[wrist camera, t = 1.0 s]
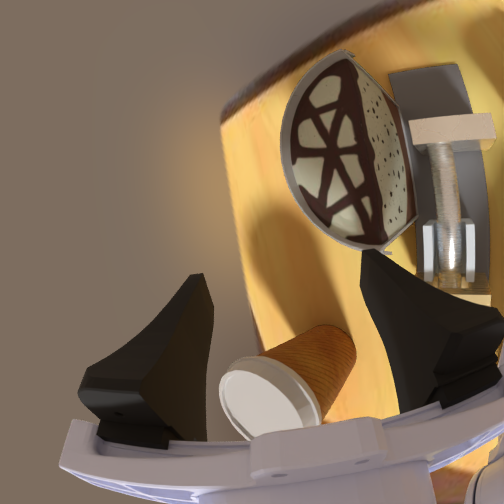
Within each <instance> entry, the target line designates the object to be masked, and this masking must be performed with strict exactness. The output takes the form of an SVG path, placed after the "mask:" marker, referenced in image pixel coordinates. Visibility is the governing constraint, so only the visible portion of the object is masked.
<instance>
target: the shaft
mask: <svg viewBox="0 0 504 504" xmlns="http://www.w3.org/2000/svg"><path fill="white" fill-rule="evenodd" d="M409 126H410V131H411V135H412V140H413V145H414V146H415V147H416V148H417V149H418V151H419V152H420V153H421V154H422V155H428V154H429V160H430V166H431V173H432V180H433V188H434V197H435V207H436V220H437V239H438V288H461V284H462V226H461V210H460V198H459V189H458V181H457V173H456V166H455V160H454V154H453V152H465V151H482V150H489V149H490V148H491V146H492V145H493V143H494V142H495V140H496V139H497V137H496V133H495V128H494V124H493V120H492V116H491V113H478V114H464V115H452V116H442V117H433V118H425V119H417V120H410V121H409Z"/></svg>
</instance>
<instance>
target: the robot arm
mask: <svg viewBox="0 0 504 504" xmlns="http://www.w3.org/2000/svg"><path fill="white" fill-rule="evenodd" d="M360 288H361V291H362V295H363V298H364V301H365V304H366V306H367V308H368V310H369V312H370V315H371V317H372V319H373V321H374V323H375V325H376V328H377V330H378V332H379V334H380V336H381V339H382V341H383V344H384V346H385V349H386V352H387V356H388V359H389V363H390V366H391V370H392V374H393V378H394V383H395V388H396V393H397V398H398V404H399V410H400V414H399V415H396V416H392V417H389V418H385V419H382V420H380V419H378V418H373V417H361V418H354V419H349V420H344V421H339V422H334V423H329V424H323V425H317V426H311V427H304V428H297V429H289V430H280V431H274V432H269V433H264V434H262V435H259V436H257V437H255V438H253V439H252V440H251V441H232V442H207V432H206V431H207V430H206V371H207V363H208V357H209V351H210V344H211V338H212V332H213V324H214V305H213V302H212V299H211V296H210V294H209V290H208V287H207V284H206V281H205V278H204V275H203V273H200V274H193V275H190V276H189V277H188V278H187V280H186V281H185V282H184V283H183V285H182V286H181V287H180V289H179V290H178V291H177V293H176V294H175V295H174V296H173V298H172V299H171V300H170V301H169V303H168V304H167V305H166V306H165V307H164V308H163V309H162V311H161V312H160V313H159V314H158V315H157V317H155V319H154V320H153V321H152V322H151V323H150V324H149V325H148V326H147V327H145V328H144V329H143V330H142V331H141V332H140V333H139V334H138V335H137V336H135V337H134V338H133V339H132V340H130V341H129V342H128V343H127V344H125V345H124V346H123V347H121V348H120V349H118V350H117V351H115V352H114V353H112V354H111V355H109V356H108V357H106V358H104V359H103V360H101V361H99V362H97V363H95V364H93V365H92V366H90V367H88V368H87V369H86V372H85V374H84V377H83V379H82V382H81V384H80V387H79V390H78V396H79V398H80V400H81V402H82V403H83V404H84V405H85V406H86V407H87V408H88V409H89V410H90V411H91V412H92V413H94V414H95V415H96V416H97V417H98V418H99V419H100V423H99V426H98V425H96V424H94V423H91V422H86V421H82V420H76V419H73V420H72V422H71V425H70V428H69V431H68V435H67V438H66V441H65V444H64V448H63V451H62V455H61V458H60V462H59V467H60V468H62V469H64V470H66V471H67V472H69V473H71V474H73V475H75V476H77V477H79V478H81V479H83V480H85V481H87V482H89V483H91V484H93V485H95V486H99V487H102V488H106V489H109V490H113V491H116V492H120V493H123V494H127V495H131V496H135V497H139V498H144V499H148V500H153V501H158V502H163V503H168V504H437V503H436V498H435V494H434V490H433V485H432V481H431V477H430V473H431V472H433V471H435V470H437V469H439V468H441V467H444V466H446V465H448V464H450V463H452V462H454V461H456V460H457V459H459V458H461V457H463V456H465V455H467V454H469V453H470V452H472V451H474V450H476V449H477V448H479V447H481V446H482V445H484V444H486V443H487V442H489V441H491V440H492V439H494V438H495V437H497V436H498V444H497V446H496V447H495V448H494V449H493V450H491V451H490V452H489V459H488V465H487V466H484V467H482V468H481V469H479V470H478V471H477V472H476V473H475V474H474V475H473V477H472V479H471V480H470V483H469V486H468V489H467V492H466V496H465V502H464V504H504V340H503V338H504V318H503V316H502V315H501V314H500V312H499V311H498V309H497V308H494V307H489V306H485V305H480V304H477V303H473V302H470V301H467V300H464V299H461V298H458V297H456V296H453V295H451V294H449V293H446V292H444V291H442V290H440V289H438V288H436V287H434V286H432V285H430V284H428V283H426V282H424V281H423V280H421V279H419V278H418V277H416V276H415V275H413V274H411V273H410V272H408V271H407V270H405V269H404V268H402V267H401V266H399V265H398V264H397V263H395V262H394V261H392V260H391V259H389V258H388V257H387V256H385V255H384V254H382V253H381V252H379V251H378V250H376V249H375V248H373V249H366V250H362V259H361V275H360ZM502 340H503V345H502V350H501V354H500V358H499V362H498V366H497V365H496V362H497V361H498V357H497V356H496V354H495V352H496V350H497V348H498V347H499V345H500V343H501V341H502Z"/></svg>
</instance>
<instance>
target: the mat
mask: <svg viewBox="0 0 504 504" xmlns="http://www.w3.org/2000/svg"><path fill="white" fill-rule="evenodd" d="M388 75H389V79H390V82H391V86H392V89H393V93H394V97H395V101H396V103H397V104H398V105H399V107H400V111H401V115H402V119H403V123H404V127H405V132H406V136H407V141H408V146H409V151H410V157H411V162H412V168H413V174H414V181H415V188H416V196H417V205H418V214H419V218H418V219H417V220H416V221H415V226H416V243H417V272H424V238H423V225H424V224H426V223H427V222H428V221H429V220H431V219H436V207H435V197H434V188H433V180H432V173H431V166H430V160H429V154H428V155H422V154H421V153H420V152H419V151H418V149H417V148H416V147H415V146H414V145H413V140H412V135H411V131H410V126H409V121H410V120H417V119H425V118H433V117H442V116H452V115H464V114H473V112H472V108H471V104H470V101H469V97H468V94H467V91H466V88H465V85H464V82H463V79H462V76H461V73H460V70H459V67H458V65H457V64H451V65H442V66H435V67H427V68H421V69H414V70H408V71H403V72H397V73H392V74H388ZM453 154H454V160H455V166H456V173H457V181H458V189H459V198H460V210H461V218H471V220H472V221H473V223H474V226H475V273H485V274H486V277H487V281H488V284H489V266H490V226H489V208H488V196H487V186H486V178H485V171H484V164H483V158H482V152H481V151H465V152H453Z"/></svg>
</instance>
